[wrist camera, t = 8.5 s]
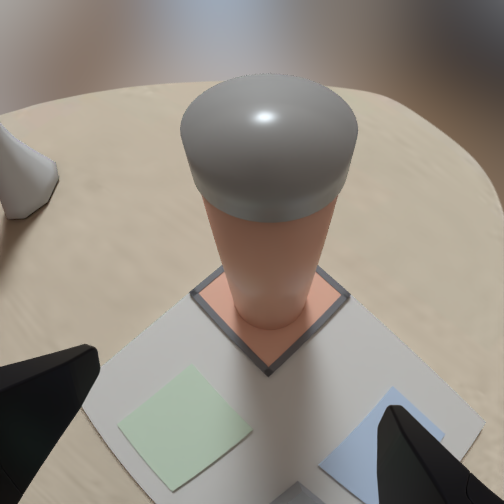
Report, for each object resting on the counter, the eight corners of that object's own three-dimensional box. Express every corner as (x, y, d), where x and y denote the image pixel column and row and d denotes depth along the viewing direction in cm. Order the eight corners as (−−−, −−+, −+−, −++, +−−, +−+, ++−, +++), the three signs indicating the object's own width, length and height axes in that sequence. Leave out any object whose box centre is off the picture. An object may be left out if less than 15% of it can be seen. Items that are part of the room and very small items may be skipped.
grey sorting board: (290, 605, 9) (293, 628, 6) (76, 392, 16) (49, 387, 14) (480, 422, 14) (508, 419, 11) (270, 230, 21) (270, 202, 19)
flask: (55, 208, 24) (-3, 128, 15) (1, 230, 23) (-59, 166, 14) (65, 155, 27) (23, 81, 18) (14, 178, 27) (-31, 115, 18)
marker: (257, 346, 17) (234, 216, 6) (218, 283, 19) (157, 108, 8) (322, 305, 18) (393, 139, 7) (280, 248, 20) (289, 61, 9)
